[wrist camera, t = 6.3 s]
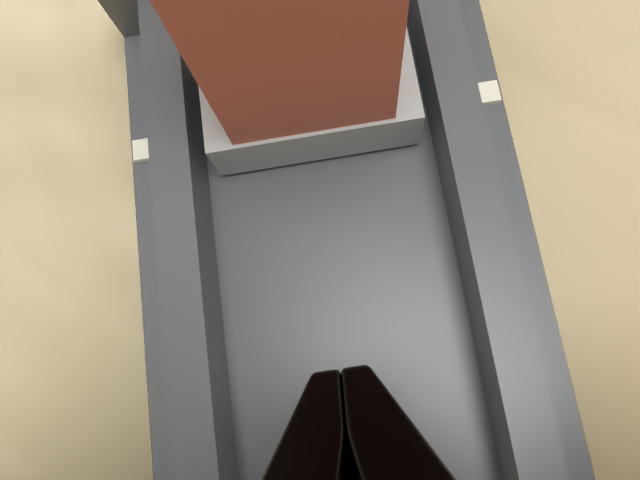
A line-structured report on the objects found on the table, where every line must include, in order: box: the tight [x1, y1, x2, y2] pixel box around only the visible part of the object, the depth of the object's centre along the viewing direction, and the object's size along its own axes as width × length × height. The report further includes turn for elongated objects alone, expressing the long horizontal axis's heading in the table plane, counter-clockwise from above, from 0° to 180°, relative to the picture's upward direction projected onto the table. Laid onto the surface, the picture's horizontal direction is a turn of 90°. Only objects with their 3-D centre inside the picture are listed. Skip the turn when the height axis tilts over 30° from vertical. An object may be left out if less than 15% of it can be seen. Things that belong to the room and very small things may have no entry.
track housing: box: [98, 0, 595, 480], centre depth 14 cm, size 15×10×4 cm
